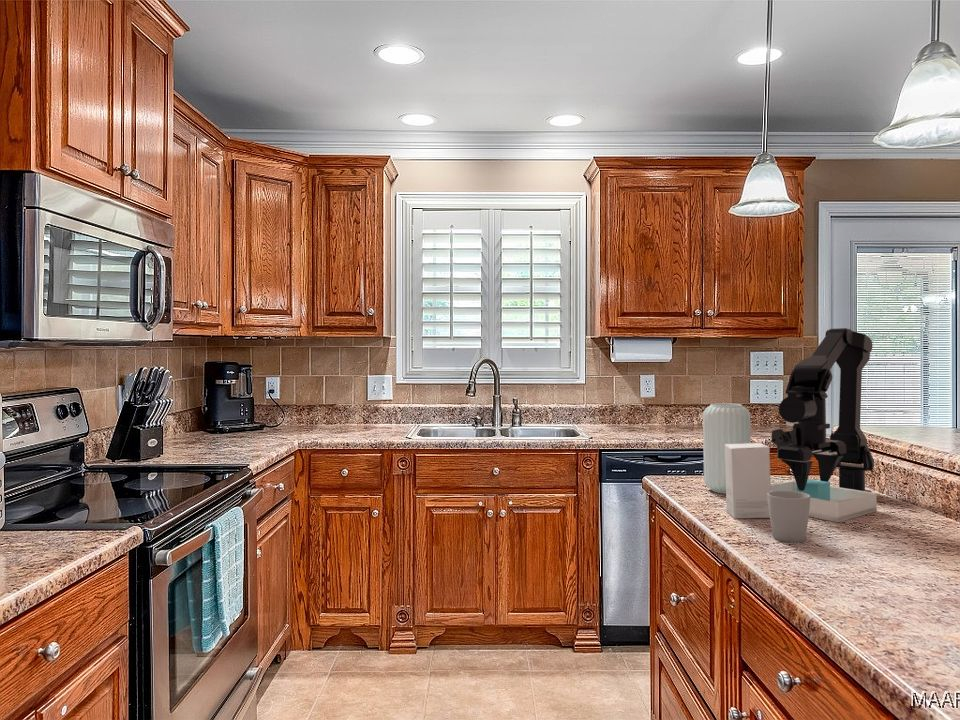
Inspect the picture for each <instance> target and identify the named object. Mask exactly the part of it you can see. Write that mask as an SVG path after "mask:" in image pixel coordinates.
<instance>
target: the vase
mask: <svg viewBox="0 0 960 720" xmlns="http://www.w3.org/2000/svg"><path fill="white" fill-rule="evenodd" d="M702 438H703V439H702V440H703V441H702V444H703V447H702V448H703V481H704V484H705V486H706V487H707V488H709V490H711V491H712V492H715V493H718V494H725V495H726V470H725V444H747V443H752V442H751V440H752V439H751V412H750V411H749V409H748V408H746V407H745V406H743V404H740V403H711V404H710V405H708V406H707V407H705V409H704V411H703V412H702Z"/></svg>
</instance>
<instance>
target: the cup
mask: <svg viewBox="0 0 960 720" xmlns="http://www.w3.org/2000/svg"><path fill="white" fill-rule="evenodd" d="M767 498H768V506H769V514H770V518H769V521H770V525H771V531H772V537H773V538H774V539H775V540H777V541H781V542H785V543H801V542H802V543H803V542H804V541H805V540H806V538H807V531H808V523H809V518H810V517H809V507H810V495H809V494H806V493H802V492H796V491H771V492H768V493H767Z"/></svg>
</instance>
